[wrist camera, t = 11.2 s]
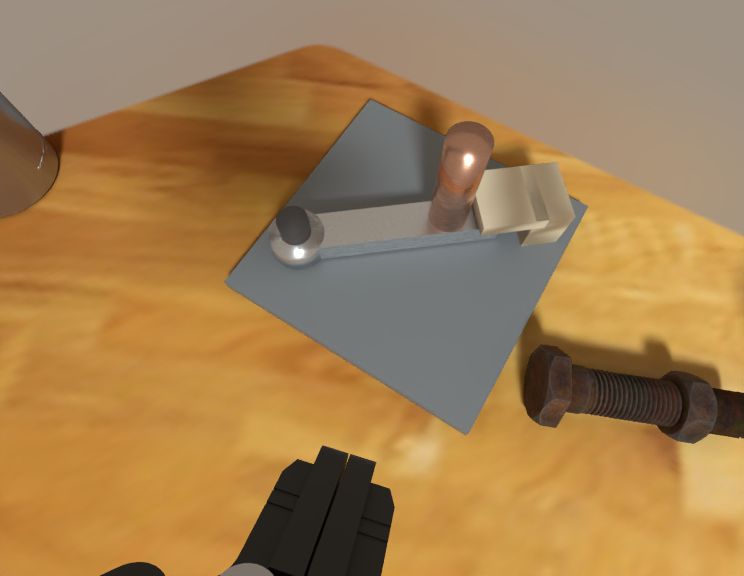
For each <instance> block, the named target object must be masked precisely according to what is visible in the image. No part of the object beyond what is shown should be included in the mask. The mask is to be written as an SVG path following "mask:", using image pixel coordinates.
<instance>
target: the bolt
mask: <svg viewBox="0 0 744 576" xmlns="http://www.w3.org/2000/svg"><path fill="white" fill-rule="evenodd" d="M524 399H525V406H526V410H527V414H528V416H529V417H530V418H531V419H532V420H533V421H535V422H536V423H538V424H539V425H542V426H548V427H554V428H556V427H557V425H558V424H559V422H560V420H561V419H562V417H563V415H564V414H565V412H569V413H576V414H580V413H585V414H591V415H599V416H604V417H609V418H615V419H621V420H622V419H623V420H628V421H634V422H636V421H637V422H642V423H647V424H655V425H657V426H658V428H659V429H660V430H661V431H662V432H663V433H664V434H666V435H668V436H669V437H671V438H673V439H675V440H677V441H680V442H686V443H693V444H694V443H696V442H698V441H700V440H701V439H703V438H704V437H706V436H707V435H708V434H716V435H723V436H728V437H734V438H739V437H741V438H744V393H741V392H733V391H728V390H721V389H716V388H711V386H710V384H709V383H708V382H706V381H705V380H703V379H701V378H699V377H697V376H694V375H692V374H689V373H685V372H679V371H670V372H669V373H667V374H666V375H664V376H663V377H662V378H661V379H653V378H646V377H639V376H633V375H626V374H617V373H612V372H608V371H603V370H595V369H590V368H585V367H583V366H579V365H572V358H571V357H569V356H568V355H567V354H565V353H564V352H563V351H561V350H560V349H559V348H558V347H555V346H549V345H541V346H539V347H538V348H537V349H536V350H535V351H534V352H533V353H532V355H531V356H530V359H529V362H528V366H527V370H526V375H525V385H524Z"/></svg>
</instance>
